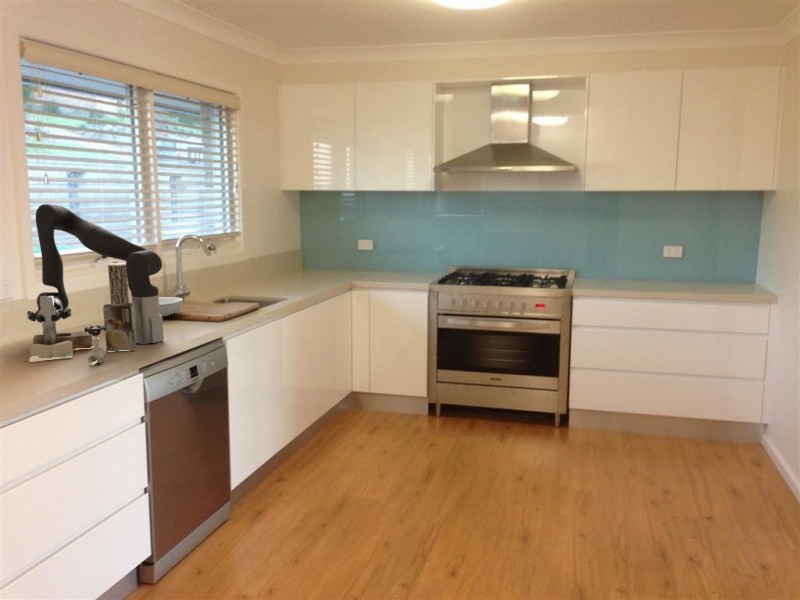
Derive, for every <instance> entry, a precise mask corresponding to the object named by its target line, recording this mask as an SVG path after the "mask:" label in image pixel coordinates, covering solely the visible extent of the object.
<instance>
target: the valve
mask: <svg viewBox="0 0 800 600" xmlns="http://www.w3.org/2000/svg"><path fill="white" fill-rule="evenodd" d="M105 330H106V326H105V325H102V326H101V325H100V324H99V325H96V326H94V325H89V327H88V326H86V327H84V331H85V332H88V333H89V334H90V335H92V349H91V350H92V353H91V354H90V355H89V356H88V357H87V362H88V364H89V363H92V362H94V361H96V360H97V363H100V362H101V361H103V362H104V361H105V359H107V358H108V357H107V356H108V353H107V351H105V350H104V349H103V346H102V345H100V342H101V341H100V337H98V336H100V334H101V333H102V331H103V332H105ZM100 364H101V363H100Z"/></svg>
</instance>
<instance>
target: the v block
mask: <svg viewBox="0 0 800 600" xmlns="http://www.w3.org/2000/svg"><path fill="white" fill-rule="evenodd" d="M73 351H74V349H73V346H72V341H65V342H61V343H58V344H54V345H42V344H33V343H31V344H29V352H30V354H29V357H30V356H31V357H32V356H39V358H52V357H66V356H73ZM74 352H75V351H74ZM73 357H74V356H73Z"/></svg>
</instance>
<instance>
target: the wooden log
mask: <svg viewBox="0 0 800 600" xmlns="http://www.w3.org/2000/svg"><path fill="white" fill-rule="evenodd" d="M107 270H108V271H107V272H108V282H109V284H108V285H109V295H110V297H109V298H110V304H122V303H130V299H129V286H128V280H127V272H126V262H112V263H107Z"/></svg>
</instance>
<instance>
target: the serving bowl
mask: <svg viewBox="0 0 800 600" xmlns="http://www.w3.org/2000/svg"><path fill="white" fill-rule="evenodd" d="M183 304H184V299H183V298H181V297H177V296H176V297H174V296H163V297H162V296H161V297H160V296H159V311H160V315H162V316H166V315H169V316H171V315H170V314H172V315H174V314H173V313H175V314H177V313H178V312H179V311H180V310H181V309H182V308H183Z"/></svg>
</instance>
